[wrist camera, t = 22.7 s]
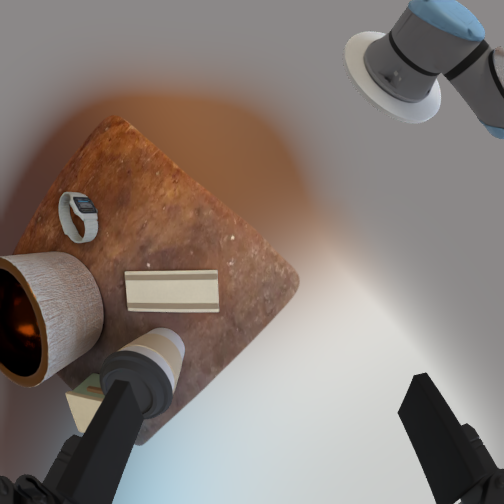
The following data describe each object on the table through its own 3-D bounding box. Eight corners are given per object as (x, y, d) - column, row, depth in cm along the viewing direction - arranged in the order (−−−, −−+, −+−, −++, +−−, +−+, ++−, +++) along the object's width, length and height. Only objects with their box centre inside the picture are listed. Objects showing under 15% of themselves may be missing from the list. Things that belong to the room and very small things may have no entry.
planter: (43, 349, 39) (-10, 378, 23) (26, 256, 38) (-35, 261, 23) (116, 354, 39) (67, 398, 24) (98, 245, 39) (33, 247, 23)
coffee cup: (204, 352, 40) (184, 405, 25) (165, 383, 40) (136, 438, 25) (161, 308, 39) (120, 342, 24) (126, 343, 39) (79, 384, 24)
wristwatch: (109, 227, 39) (93, 225, 34) (84, 252, 39) (67, 254, 34) (82, 184, 38) (66, 178, 33) (59, 210, 38) (42, 207, 33)
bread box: (138, 376, 40) (117, 403, 31) (146, 414, 40) (129, 443, 31) (90, 369, 39) (64, 391, 30) (100, 406, 40) (78, 431, 31)
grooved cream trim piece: (217, 269, 39) (216, 270, 38) (219, 311, 39) (218, 312, 39) (126, 271, 39) (124, 271, 38) (129, 310, 39) (127, 311, 38)
